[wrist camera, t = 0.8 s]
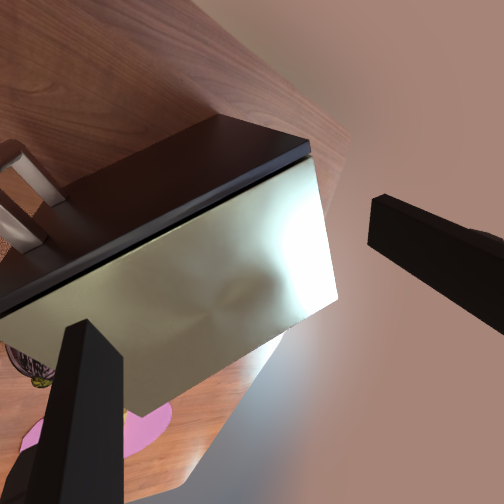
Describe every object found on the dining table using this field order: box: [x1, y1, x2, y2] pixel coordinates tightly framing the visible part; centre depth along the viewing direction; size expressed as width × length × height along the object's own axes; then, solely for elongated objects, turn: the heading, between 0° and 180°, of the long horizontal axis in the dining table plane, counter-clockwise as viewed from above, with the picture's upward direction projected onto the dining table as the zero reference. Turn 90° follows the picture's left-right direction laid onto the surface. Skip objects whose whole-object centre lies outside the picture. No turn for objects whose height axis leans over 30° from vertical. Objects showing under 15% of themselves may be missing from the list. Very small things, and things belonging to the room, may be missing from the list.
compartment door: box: [0, 114, 311, 313], centre depth 25 cm, size 8×26×23 cm, turn 110°
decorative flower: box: [5, 344, 55, 388], centre depth 41 cm, size 15×12×15 cm
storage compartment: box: [0, 155, 338, 418], centre depth 33 cm, size 18×26×24 cm
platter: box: [20, 402, 172, 459], centre depth 62 cm, size 32×32×3 cm
